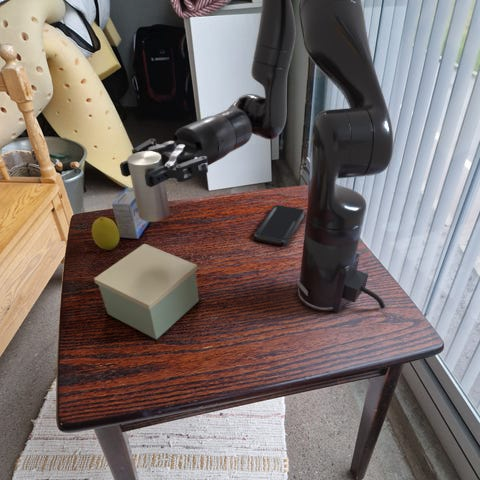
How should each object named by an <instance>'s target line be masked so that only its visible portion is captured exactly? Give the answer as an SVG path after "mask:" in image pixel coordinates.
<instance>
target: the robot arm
mask: <svg viewBox="0 0 480 480" xmlns="http://www.w3.org/2000/svg"><path fill="white" fill-rule="evenodd" d="M261 3H262V4H261V12H260V18H259V19H260V20H259V26H258V33H257V37H256V43H255V48H254V52H253V58H252V59H253V60H252V63H251V70H250V71H251V72H250V73H251V77H252V79H253V80H254V81H256V82H257V83H259V85H261V86H262V87H263V90H264V94H265V95H264V96H261V95H258V94H255V93H247V94H243V95H241V96H239V97H238V98H237V99H235V101H234V102H233V103H232V104H231V105H230V106H229V107H228V108H227V109H226V110H224V111H221V112H219V113H216V114H214V115H209V116H206V117H203V118H201V119H199V120H196V121H194V122H191V123H189V124H187V125H184V126H182V127H180V128H178V129H177V130H176V132H175V134H174V136H173V137H172V140H168V141H164V142H163V143H161V144H159V143H157V141H156V138H149V139H148V140H146V141H143V143H141V144H139V145H138V146H136V147H134V148H132V149H131V155H132V154H134V153H138V152H143V151H152V152H157V153H159V154H160V155H161V158H162V164H163V166H162V165H161V166H159V167H157V168H155V169H153V170H151V171H149V172H147V173H146V174H145V180H146V185H147V186H149V187H153V186H155V185H157V184H159V183H161V182H163V181H165V182H166V181H173V180H175V179H176V181H177V182H178V183H183V182H186V181H189V180H191V179H195V178H197V177H200V176H202V175H205V174H207V173H209V166H210V165H212V164H215V163H216V162H218V161H220V160H222V159H224V158H225V157H226V156H227V155H229V154H230V153H233V152H235V151H236V150H238V149H240V148H242V147H243V146H245V145H247V143H248V142H249V141H250V140H251V138H252V135H255V136H257V137H259V138H263V139H265V140H274V139H276V138H277V137H278V136H279V135H280V134H281V133H282V131H283V130H284V128H285V125H286V121H287V110H288V109H287V106H288V105H287V95H288V93H287V92H288V89H287V88H288V74H289V70H290V65H291V61H292V58H293V53H294V48H295V44H296V35H297V32H296V31H297V29H296V18H295V14H294V13H295V12H294V8H293V3H292V0H262V2H261ZM298 6H299V7H298V14H299V15H298V16H299V22H300V28H301V33H302V40H303V44H304V49H305V51H306V53H307V55H308V57H309V58H310V60H311V61H312V62H313V64H314V65H315V66H316V67H317V68H318V69H319V71H320V72H322V74H323V75H325V77H326V78H327V79H329V81H330V82H332V84H333V85H334V86H335V87H336V88H337V89H338V90H339V92H341V94H342V95H343V97H344V99H345V101H346V103H347V105H348V107H347V108H333V109H325V110H322V111H320V112H319V113H318V114H317V115H316V117H315V120H314V122H313V125H312V129H311V136H310V149H309V150H310V151H309V153H310V154H309V174H308V186H307V207H306V216H305V217H306V219H305V227H304V237H303V246H302V256H301V263H300V273H299V279H296V285H297V286H298V289H297V296H298V297H297V298H298V299H299V301H300V302H301V303H302V304H303V305H304V306H305V307H307V308H309V309H311V310H314V311H318V312H334V313H336V314H337V313H340V311H341V310H342V309H343V307H344V306H345V305H346V304H347V302H348V301H349V302H351V303H355V302H357V300H358V298H359V297H360V295H362V293H364V294H365V295H368V296H370V298H372V299H374V300H375V301H376V302H377V303H378V306H379V308H380V309H385V308H386V305H385V302H384V300H383V299H382V298H381V297H380V296H379V295H378V294H377V293H376V292H373V291H372V290H370V289H368V288H367V287H366V286H367V282H368V278H369V273H367V272H364V271H360V270H358V266H359V263H360V257H361V255H360V253H358V251H359V250H358V249H359V245H360V239H361V234H362V232H363V231H362V230H363V226H364V222H365V217H366V212H367V201H366V199H365V198H364V197H363V195H362V194H360V192H358V191H357V190H354V189H352V188H349V187H346V186H343V185H339V184H337V179H349V178H361V177H371V176H376V175H380V174H383V173H384V172H385V171H386V170H387V168H388V167H389V165H390V164H391V161H392V158H393V152H394V132H393V124H392V120H391V117H390V112H389V109H388V105H387V103H386V99H385V97H384V94H383V90H382V87H381V84H380V80H379V78H378V75H377V71H376V68H375V64H374V61H373V56H372V52H371V49H370V48H371V47H370V43H369V37H368V32H367V27H366V19H365V14H364V13H365V12H364V9H363V4H362V0H299V5H298ZM119 168H120V173H121V174H120V175H122V177H126V178H128V177H129V176H130V171H129V166H128V162H127V159H126V160H125V161H122V162H120V164H119ZM185 171H187V173H185ZM130 177H131V176H130Z"/></svg>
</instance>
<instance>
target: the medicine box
mask: <svg viewBox="0 0 480 480" xmlns="http://www.w3.org/2000/svg"><path fill="white" fill-rule="evenodd" d="M111 206H112V210H113V214H114V218H115V222H116V226H117V228H118V230H119V235H120V238H123V239H134V240H135V239H137V240H139V238H140V237H141V235H142V234H143V232H144V231H145V229H146V228H147V227H148V225H149V224H150V222H148V221H144V220H142V219H141V218H140V217H139V213H138V209H137V204H136V199H135V195H134V190H133V187H131V186H130V187H126V188H125V189H124V190H123V191H122V192H121V193H120V194H119V195H118V197H116V199H115V200H114V201H113V202H112V203H111Z"/></svg>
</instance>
